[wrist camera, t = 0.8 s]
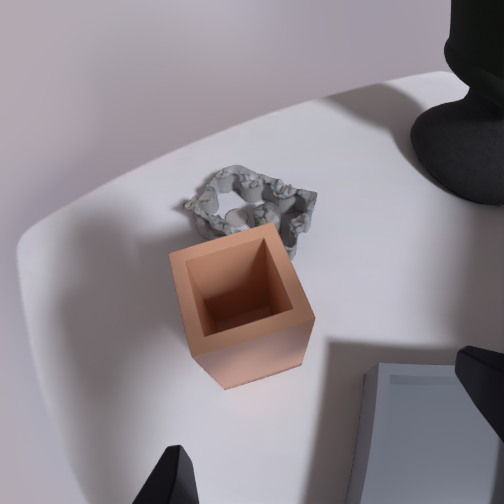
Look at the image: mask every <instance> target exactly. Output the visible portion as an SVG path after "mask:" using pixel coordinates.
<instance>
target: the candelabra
mask: <svg viewBox="0 0 504 504" xmlns="http://www.w3.org/2000/svg"><path fill="white" fill-rule="evenodd" d="M444 55H445V58H446V62H447V64H448V65H449V67H450V69H451V70H452V71H453V72H454V74H455V75H456V76H457V77H458V78H459V79H460V80H461V81H463V82H464V83H465V84H466V85H468V86H469V87H470V88H469V91H468V93H467V95H466V96H465V97H464V98H463V99H461V100H458V101H454V102H449V103H444V104H441V105H438V106H435V107H432V108H430V109H428V110H427V111H425V112H424V113H422V114H421V115H420V116H419V117H418V118H417V119H416V121H415V123H414V125H413V127H412V129H411V135H410V136H411V142H412V144H413V147H414V149H415V151H416V153H417V155H418V157H419V159H420V161H421V162H422V163H423V165H424V166H425V167H426V168H427V169H428V171H429V172H430V173H431V175H433V176H434V177H435V178H437V179H438V180H439V181H440V182H441V183H442V184H443V185H445V186H446V187H447V188H449V189H451V190H452V191H454V192H456V193H458V194H459V195H461V196H462V197H464V198H467V199H470V200H473V201H475V202H478V203H480V204H492V205H498V204H503V203H504V0H451V24H450V35H449V38H448V40H447V41H446V43H445V47H444Z"/></svg>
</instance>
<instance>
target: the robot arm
mask: <svg viewBox="0 0 504 504" xmlns="http://www.w3.org/2000/svg"><path fill="white" fill-rule="evenodd" d="M455 374H456V376H457V378H458V379H459V381H460V382H461V384H462V386H463V387H464V389H465V390H466V392H467V393H468V395H469V397H470V398H471V400H472V402H473V403H474V405H475V406H476V407H477V409H478V410H479V411H480V413H481V414H482V415H483V417H484V418H485V419H486V421H487V422H488V423H489V424H490V426H491V427H492V428H493V430H494V431H495V432H496V434H497V435H498V436H499V438H500V439H501V440H502V442H503V443H504V354H503V353H498V352H494V351H490V350H485V349H481V348H477V347H473V346H465V347H463V348H462V349H460V350H459V351H458V352H457V356H456V363H455ZM132 504H199V499H198V493H197V488H196V482H195V476H194V469H193V464H192V461H191V459H190V458H189V456H188V455H187V453H186V451H185V450H184V448H183V447H182V446H181V445H173V446H168V447H167V448H166V449H165V451H164V453H163V454H162V456H161V458H160V459H159V461H158V463H157V464H156V466H155V467H154V469H153V471H152V472H151V474H150V476H149V477H148V479H147V480H146V482H145V484H144V485H143V487H142V488H141V490H140V492H139V493H138V495H137V496H136V498H135V500H134V501H133V503H132Z"/></svg>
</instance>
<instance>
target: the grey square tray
mask: <svg viewBox="0 0 504 504" xmlns="http://www.w3.org/2000/svg"><path fill="white" fill-rule="evenodd" d="M345 504H504V443H503V442H502V440H501V439H500V438H499V436H498V435H497V434H496V432H495V431H494V430H493V428H492V427H491V426H490V424H489V423H488V422H487V421H486V419H485V418H484V417H483V415H482V414H481V413H480V411H479V410H478V409H477V407H476V406H475V405H474V403H473V402H472V400H471V398H470V397H469V395H468V393H467V392H466V390H465V389H464V387H463V386H462V384H461V382H460V381H459V379H458V378H457V376H456V374H455V365H421V364H398V363H381V362H379V363H378V364H377V365H375V366H374V367H373V368H372V369H371V370H369V371H368V372H367V373H366V374H364V382H363V393H362V402H361V411H360V419H359V426H358V434H357V441H356V447H355V453H354V460H353V465H352V471H351V476H350V482H349V487H348V492H347V497H346V501H345Z"/></svg>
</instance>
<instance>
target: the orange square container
mask: <svg viewBox="0 0 504 504" xmlns="http://www.w3.org/2000/svg"><path fill="white" fill-rule="evenodd" d="M169 258H170V263H171V268H172V273H173V278H174V283H175V287H176V292H177V297H178V301H179V306H180V310H181V315H182V319H183V323H184V328H185V332H186V336H187V340H188V344H189V348H190V352H191V356H192V358H193V359H194V360H195V361H196V362H197V363H198V364H199V365H200V366H201V367H202V368H203V369H204V370H205V371H206V372H207V373H208V374H209V375H210V376H211V377H212V378H213V379H214V380H215V381H216V382H217V383H218V384H219V385H220V386H221V387H222V388H223V389H224V390H226V389H229V388H233V387H236V386H240V385H243V384H246V383H250V382H253V381H256V380H259V379H262V378H265V377H268V376H271V375H275V374H278V373H280V372H283V371H286V370H289V369H292V368H295V367H298V366H301V364H302V361H303V358H304V355H305V352H306V348H307V345H308V342H309V338H310V335H311V332H312V328H313V325H314V322H315V316H314V313H313V311H312V309H311V306H310V304H309V302H308V299H307V297H306V295H305V292H304V290H303V288H302V286H301V283H300V281H299V279H298V276H297V274H296V272H295V270H294V267H293V265H292V263H291V261H290V258H289V256H288V254H287V252H286V249H285V247H284V245H283V243H282V241H281V238H280V236H279V234H278V232H277V230H276V227H275V225H274V223H273V222H271V223H268V224H265V225H261V226H258V227H254V228H251V229H248V230H244V231H241V232H237V233H234V234H231V235H227V236H224V237H221V238H217V239H214V240H211V241H207V242H204V243H201V244H198V245H194V246H191V247H188V248H185V249H181V250H178V251H175V252H172V253H169Z"/></svg>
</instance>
